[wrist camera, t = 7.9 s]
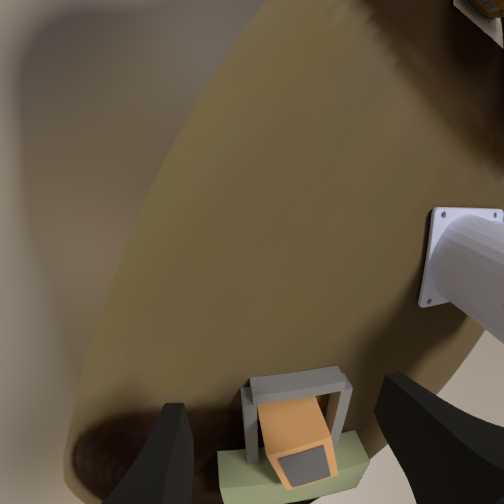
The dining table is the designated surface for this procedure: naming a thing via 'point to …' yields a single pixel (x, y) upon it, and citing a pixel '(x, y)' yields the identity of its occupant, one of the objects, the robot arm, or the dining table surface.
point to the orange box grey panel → (297, 441)
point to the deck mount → (255, 459)
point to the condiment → (484, 15)
